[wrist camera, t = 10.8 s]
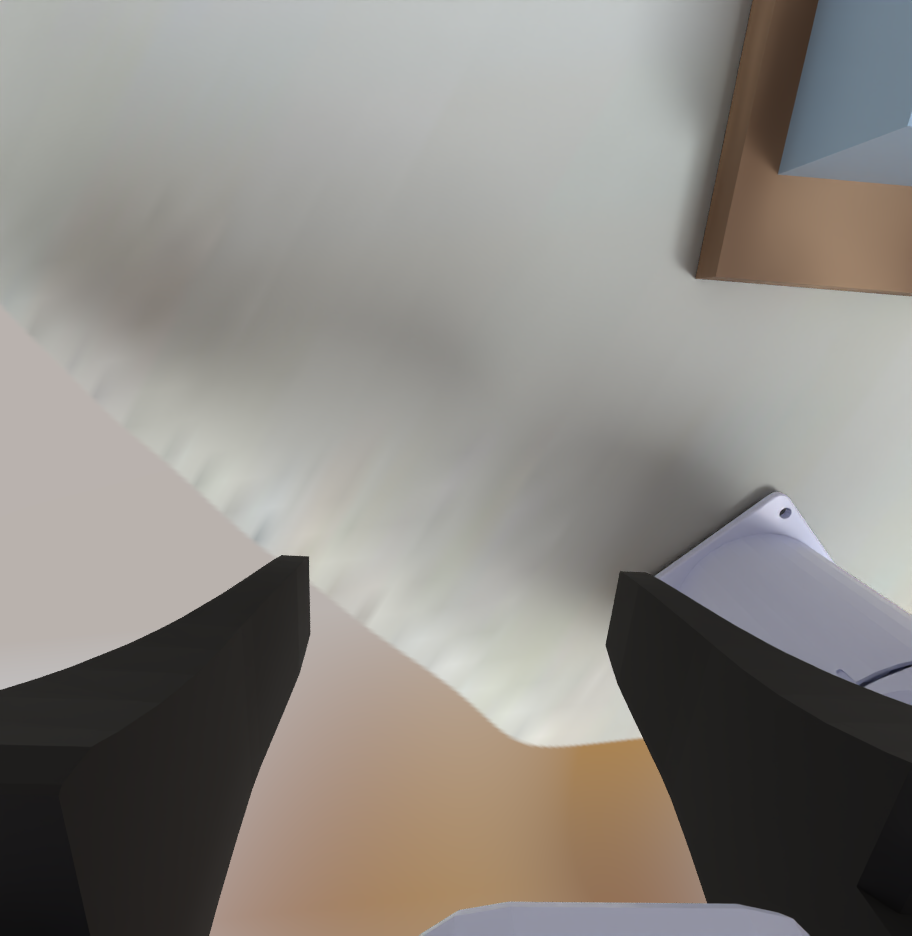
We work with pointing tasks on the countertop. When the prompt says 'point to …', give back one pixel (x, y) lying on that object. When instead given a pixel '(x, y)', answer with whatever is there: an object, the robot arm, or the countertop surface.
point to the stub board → (795, 185)
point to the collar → (855, 95)
